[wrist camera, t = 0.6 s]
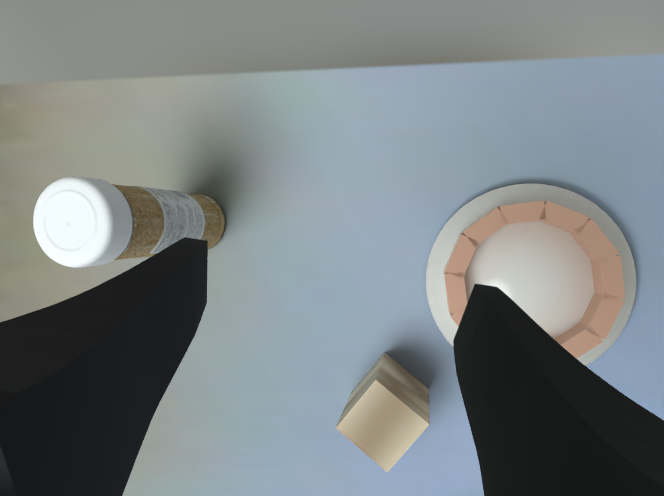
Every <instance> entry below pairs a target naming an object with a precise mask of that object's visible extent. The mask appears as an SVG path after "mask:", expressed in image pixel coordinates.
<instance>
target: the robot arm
mask: <svg viewBox="0 0 664 496" xmlns="http://www.w3.org/2000/svg"><path fill="white" fill-rule="evenodd" d="M207 253H208V241H206V240H200V239H193V238H187V237H184V238H182V239H180V240H179V241H177V242H175V243H173V244H172V245H170V246H168V247H167V248H165V249H163V250H162V251H160V252H159V253H157V254H155V255H154V256H152V257H150V258H148V259H147V260H145V261H143V262H142V263H140V264H138V265H136V266H135V267H133V268H131V269H129V270H128V271H126V272H124V273H122V274H120V275H118V276H116V277H114V278H112V279H110V280H108V281H106V282H104V283H102V284H101V285H99V286H97V287H94V288H92V289H90V290H88V291H86V292H83V293H81V294H79V295H77V296H74V297H72V298H69V299H67V300H64V301H62V302H59V303H57V304H54V305H52V306H49V307H46V308H43V309H40V310H37V311H34V312H31V313H28V314H25V315H22V316H19V317H16V318H13V319H10V320H7V321H4V322H0V496H122V495H123V492H124V489H125V487H126V484H127V481H128V479H129V476H130V473H131V471H132V468H133V465H134V463H135V460H136V457H137V455H138V452H139V450H140V447H141V445H142V442H143V440H144V437H145V435H146V432H147V430H148V427H149V425H150V422H151V420H152V417H153V415H154V413H155V411H156V409H157V407H158V405H159V402H160V400H161V399H162V397H163V395H164V393H165V391H166V389H167V387H168V385H169V383H170V382H171V380H172V378H173V376H174V374H175V372H176V370H177V368H178V366H179V364H180V363H181V361H182V359H183V357H184V355H185V353H186V351H187V349H188V347H189V345H190V343H191V341H192V339H193V338H194V336H195V333H196V331H197V328H198V325H199V323H200V320H201V317H202V314H203V311H204V309H205V306H206V303H207ZM453 345H454V356H455V364H456V372H457V377H458V381H459V385H460V389H461V393H462V397H463V401H464V405H465V408H466V412H467V416H468V420H469V424H470V427H471V431H472V435H473V439H474V442H475V446H476V450H477V455H478V459H479V464H480V469H481V476H482V483H483V489H484V496H664V420H662V419H660V418H659V417H657V416H656V415H654V414H653V413H651V412H649V411H648V410H646V409H645V408H643V407H642V406H640V405H638V404H637V403H635V402H634V401H632V400H631V399H629V398H628V397H626V396H625V395H624V394H622V393H621V392H619V391H618V390H617V389H615V388H614V387H612V386H611V385H610V384H608V383H607V382H606V381H604V380H603V379H602V378H600V377H599V376H597V375H596V374H595V373H594V372H592V371H591V370H590V369H588V368H587V367H586V366H585V365H583V364H582V363H581V362H580V361H579V360H578V359H576V358H575V357H574V356H573V355H572V354H570V353H569V352H568V351H567V350H566V349H564V348H563V347H562V346H561V345H560V344H559V343H558V342H557V341H555V340H554V339H553V338H552V337H551V336H550V335H549V334H548V333H547V332H546V331H544V330H543V329H542V328H541V327H540V326H539V325H538V324H537V323H536V322H535V321H534V320H533V319H532V318H531V317H530V316H529V315H528V314H527V313H525V312H524V311H523V310H522V309H521V308H520V307H519V306H518V305H517V304H516V303H515V302H514V301H513V300H512V299H511V298H510V297H509V296H507V295H506V294H505V293H504V292H503V291H502V290H500V289H499V288H498V287H494V286H488V285H482V284H476V283H475V284H474V287H473V290H472V292H471V295H470V298H469V300H468V303H467V305H466V308H465V311H464V313H463V316H462V319H461V321H460V324H459V327H458V329H457V332H456V335H455V337H454V340H453Z"/></svg>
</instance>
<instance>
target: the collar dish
mask: <svg viewBox="0 0 664 496" xmlns="http://www.w3.org/2000/svg"><path fill="white" fill-rule="evenodd" d="M475 283H476V284H482V285H488V286H494V287H498V288H499V289H500V290H502V291H503V292H504V293H505V294H506V295H507V296H509V297H510V298H511V299H512V300H513V301H514V302H515V303H516V304H517V305H518V306H519V307H520V308H521V309H522V310H523V311H524V312H525V313H527V314H528V315H529V316H530V317H531V318H532V319H533V320H534V321H535V322H536V323H537V324H538V325H539V326H540V327H541V328H542V329H543V330H544V331H546V332H547V333H548V334H549V335H550V336H551V337H552V338H553V339H554V340H555V341H557V342H558V343H559V344H560V345H561V346H562V347H563V348H564V349H566V350H567V351H568V352H569V353H570V354H572V355H573V356H574V357H575V358H576V359H578V360H579V361H580V362H581V363H582V364H583V365H585V366H586V365H588V364H590V363H591V362H593V361H594V360H595V359H597V358H598V357H600V356H601V355H602V354H603V353H604V352H605V351H606V350H607V349H608V348H609V347H610V346H611V345H612V344H613V343H614V342H615V340H616V339H617V338H618V337H619V335H620V334H621V332H622V330H623V329H624V327H625V325H626V324H627V321H628V319H629V317H630V314H631V312H632V308H633V304H634V300H635V293H636V270H635V265H634V259H633V256H632V253H631V250H630V247H629V245H628V243H627V241H626V239H625V237H624V235H623V233H622V232H621V230H620V229H619V228H618V226H617V225H616V223H615V222H614V221H613V220H612V219H611V218H610V217H609V216H608V215H607V213H606V212H604V211H603V210H602V209H601V208H600V207H598V206H597V205H596V204H595V203H593V202H591V201H590V200H588V199H586V198H585V197H583V196H581V195H579V194H577V193H574V192H572V191H570V190H567V189H563V188H560V187H557V186H551V185H545V184H531V183H528V184H515V185H510V186H505V187H501V188H498V189H495V190H492V191H489V192H487V193H485V194H483V195H481V196H478V197H476V198H475V199H473V200H472V201H470V202H469V203H467V204H465V205H464V206H463V207H462V208H460V209H459V210H458V211H457V212H456V213H455V214H454V215H453V216H452V217H451V218H450V219H449V220H448V221H447V222H446V224H445V225H444V227H443V228H442V229H441V231H440V232H439V234H438V236H437V238H436V240H435V242H434V244H433V247H432V249H431V252H430V255H429V259H428V264H427V272H426V290H427V297H428V302H429V306H430V309H431V312H432V315H433V318H434V320H435V322H436V324H437V326H438V328H439V329H440V331H441V332H442V334H443V335H444V337H445V338H446V339H447V341H448V342H449V343H450V344H451V345H452V346H453V348H454V345H453V340H454V337H455V335H456V332H457V329H458V327H459V324H460V321H461V319H462V316H463V313H464V311H465V308H466V305H467V303H468V300H469V298H470V295H471V292H472V290H473V287H474V284H475Z"/></svg>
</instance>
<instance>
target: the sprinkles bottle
mask: <svg viewBox="0 0 664 496" xmlns="http://www.w3.org/2000/svg"><path fill="white" fill-rule="evenodd" d="M224 219H225V217H224V215H223V212H222V210H221V208H220V206H219V205H218V204H217V202H216V201H215V200H214V199H212V198H210V197H208V196H206V195H203V194H186V193H183V192H177V191H170V190H162V189H154V188H146V187H139V186H122V185H114V184H110V183H109V182H106V181H103V180H100V179H93V178H84V177H66V178H62V179H59V180H57V181H55V182H53V183H52V184H50V185H49V186H48V187H47V188H46V189H45V190H44V191H43V192H42V194H41V195H40V197H39V199H38V201H37V203H36V207H35V210H34V218H33V224H34V231H35V235H36V238H37V240H38V242H39V244H40V246H41V248H42V249H43V251H44V252H45V253H46V254H47V255H48V256H49V257H50V258H51V259H52V260H54V261H56V262H57V263H59V264H61V265H64V266H68V267H89V266H96V265H103V264H106V263H108V262H111V261H113V260H117V259H127V258H141V257H149V256H154V255H155V254H157V253H159V252H160V251H162V250H163V249H165V248H167V247H168V246H170V245H172V244H173V243H175V242H177V241H179V240H180V239H182V238H184V237H187V238H193V239H200V240H206V241H208V249H210V248H212V247H213V246H214V245H215V244H217V242H218V241H219V240H220V239H221V236H222V234H223V231H224V226H225V221H224Z"/></svg>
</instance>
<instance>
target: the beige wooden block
mask: <svg viewBox="0 0 664 496" xmlns="http://www.w3.org/2000/svg"><path fill="white" fill-rule="evenodd" d="M428 425H429V388H428V387H426V386H425V385H424V384H423V383H422V382H420V381H419V380H418V379H417V378H415V377H414V376H413V375H412V374H411V373H409V372H408V371H407V370H406V369H404V368H403V367H402V366H401V365H400V364H398V363H397V362H396V361H395V360H393V359H392V358H391V357H390V356H389V355H387V354H386V353H384V354H383V355H382V356H381V358H380V359H379V360H378V361H377V362H376V364H375V365H374V366H373V367H372V368H371V370H370V371H369V372H368V373H367V375H366V376H365V377H364V378H363V379H362V381H361V382H360V383H359V384H358V385H357V387H356V388H355V389H354V390H353V392H352V393H351V395H350V397H349V399H348V402H347V404H346V406H345V408H344V411H343V413H342V415H341V417H340V419H339V422H338V424H337V426H336V429H337V430H339V431H340V432H341V433H342V434H343V435H344V436H346V437H347V438H348V439H349V440H350V441H351V442H353V443H354V444H355V445H356V446H357V447H358V448H360V449H361V450H362V451H363V452H364V453H365V454H367V455H368V456H369V457H370V458H371V459H372V460H374V461H375V462H376V463H377V464H378V465H379V466H381V467H382V468H383V469H384V470H385V471H386V472H388V471H389V470H390V469H391V468H392V467H393V466H394V464H395V463H396V462H397V461H398V460H399V459H400V457H401V456H402V455H403V454H404V453H405V452H406V451H407V449H408V448H409V447H410V446H411V445H412V444H413V443H414V441H415V440H416V439H417V438H418V437H419V436H420V435H421V433H422V432H423V431H424V430H425V429H426V428H427V427H428Z"/></svg>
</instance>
